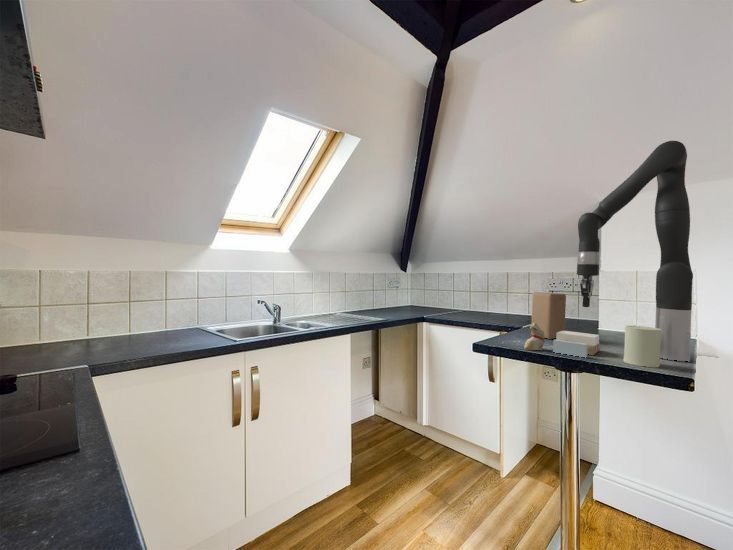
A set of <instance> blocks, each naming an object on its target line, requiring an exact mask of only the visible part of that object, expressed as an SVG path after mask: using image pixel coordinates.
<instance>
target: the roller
mask: <svg viewBox="0 0 733 550" xmlns="http://www.w3.org/2000/svg"><path fill="white" fill-rule="evenodd" d="M588 354H589V355H590V356H595V355H596V354H595V346H590V345H588V348H587V355H588Z"/></svg>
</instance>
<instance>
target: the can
mask: <svg viewBox="0 0 733 550" xmlns="http://www.w3.org/2000/svg"><path fill="white" fill-rule="evenodd" d="M660 336H661V329H658V328H655V327H651V326H641V325H625V326H624V348H623V349H624V350H623V351H624V352H623V360H622V362H624V363H626V364H629V365H632V366H638V367H643V366H646V367H645V368H660V367H661V365H660V364H661V363H660V359H661V358H660ZM659 366H660V367H659Z"/></svg>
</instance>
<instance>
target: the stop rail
mask: <svg viewBox="0 0 733 550" xmlns="http://www.w3.org/2000/svg"><path fill="white" fill-rule="evenodd" d="M552 340H553V342H552V353H553V352H555V353H554V354H556V353H561V354H560V355H563V354H567V355H566V356H569V355H573V356H572V357H575V356H579V357H578V358H581V357H585V358H584V359H587V358H588V354H587V348H588V344H583V343H576V342H569V341H562V340H556V339H552ZM586 357H587V358H586Z"/></svg>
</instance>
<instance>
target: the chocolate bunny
mask: <svg viewBox="0 0 733 550" xmlns="http://www.w3.org/2000/svg"><path fill="white" fill-rule="evenodd" d="M529 330H530V332H531V331H532V333H533V336H532V335H531V336H530V338H528V339H526V341H525V343H524V348H523V349H524V350H525V351H530V350H541V351H543V350H544V348H543V346H544V344H545V339H544V338H545V336H544V331H542V330H541V329H540V328H539V327H538V325H537V324H536V323H533V325H532V326H531V325H530V326H529ZM542 349H543V350H542Z"/></svg>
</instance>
